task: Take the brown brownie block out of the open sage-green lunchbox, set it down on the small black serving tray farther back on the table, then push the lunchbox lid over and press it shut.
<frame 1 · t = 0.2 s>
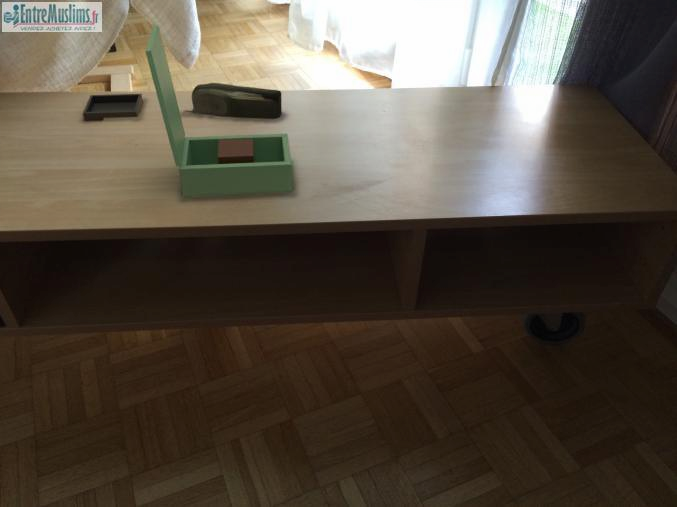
tray: (115, 112, 95), on the tv stand
dark green elongated piece: (233, 118, 95), on the tv stand
lunchbox: (238, 182, 81), on the tv stand
lid: (167, 97, 72), point 12 cm above the tv stand, hinge at 95.0°
brownie: (238, 177, 80), point 1 cm above the tv stand, touching lunchbox
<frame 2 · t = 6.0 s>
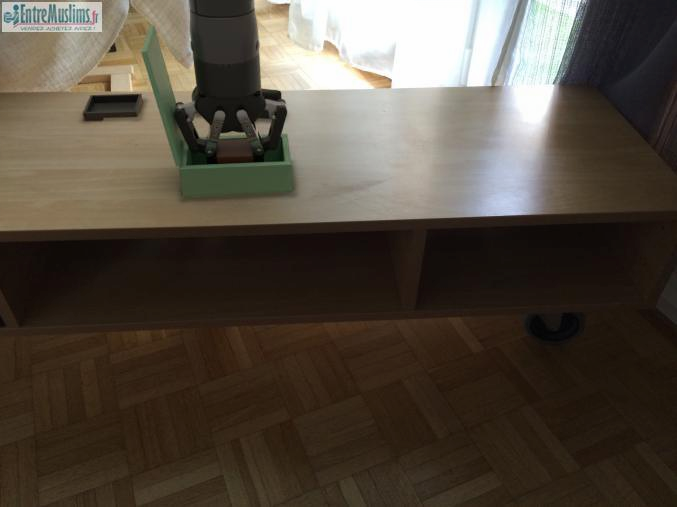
hand: (236, 176, 80), 1 cm above the tv stand, tool pointing down, fingers closed on lunchbox, 4 cm apart
lid: (165, 97, 72), point 12 cm above the tv stand, hinge at 96.8°
brownie: (237, 177, 80), point 1 cm above the tv stand, touching gripper, lunchbox
everything else where it was.
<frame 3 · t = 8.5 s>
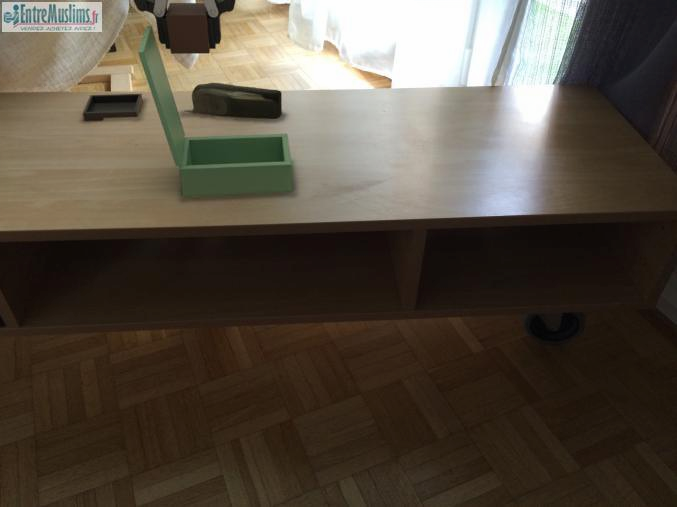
hand: (191, 46, 73), 17 cm above the tv stand, tool pointing down, fingers closed on brownie, 4 cm apart
lid: (164, 97, 72), point 12 cm above the tv stand, hinge at 98.2°, touching gripper
brownie: (191, 46, 73), point 17 cm above the tv stand, touching gripper
everything else where it was.
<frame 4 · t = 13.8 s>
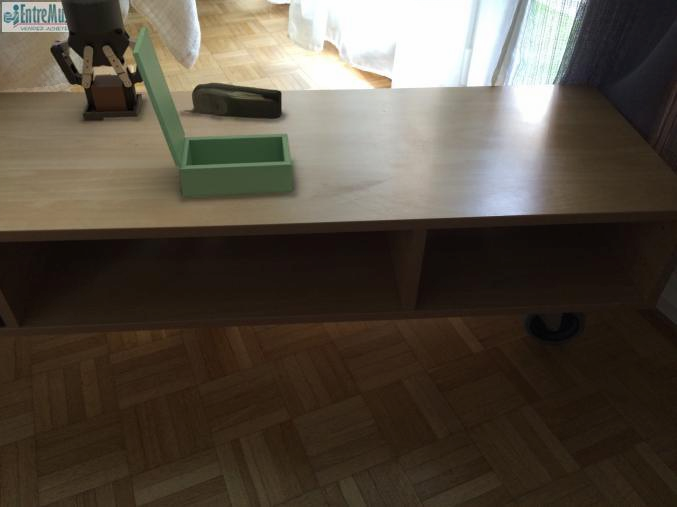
hand: (114, 107, 95), 1 cm above the tv stand, tool pointing down, fingers closed on brownie, 4 cm apart
lid: (161, 98, 72), point 12 cm above the tv stand, hinge at 100.6°
brownie: (114, 107, 95), point 1 cm above the tv stand, touching gripper
everything else where it was.
when the fingers open (1 cm above the tv stand, at t = 18.6 s): brownie stays where it is, resting on tray.
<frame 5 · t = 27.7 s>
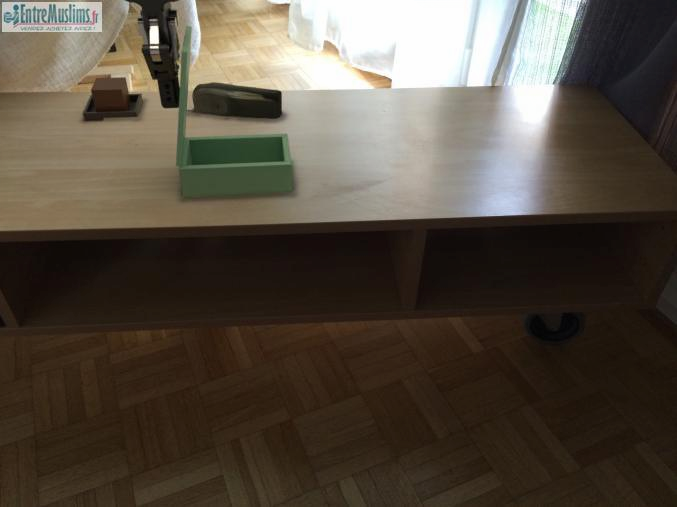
hand: (171, 105, 73), 11 cm above the tv stand, tool pointing down, fingers closed
lid: (183, 97, 72), point 12 cm above the tv stand, hinge at 79.7°, touching gripper
brownie: (114, 110, 95), resting on tray
everything else where it was.
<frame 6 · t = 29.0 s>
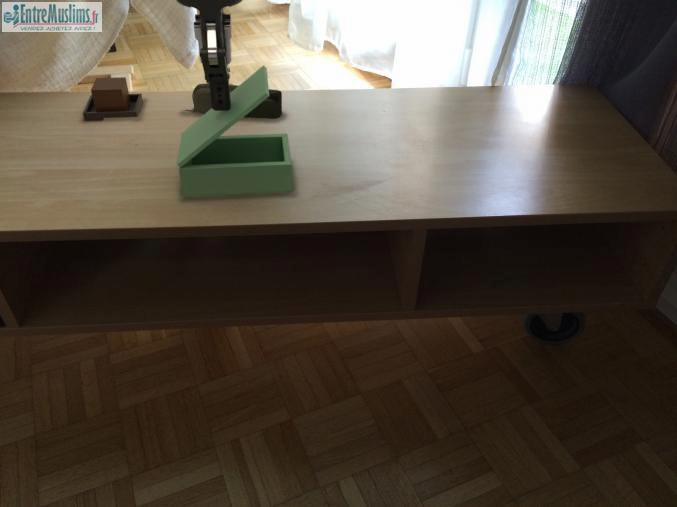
hand: (221, 108, 74), 11 cm above the tv stand, tool pointing down, fingers closed
lid: (222, 115, 74), point 10 cm above the tv stand, hinge at 38.6°, touching gripper
everything else where it was.
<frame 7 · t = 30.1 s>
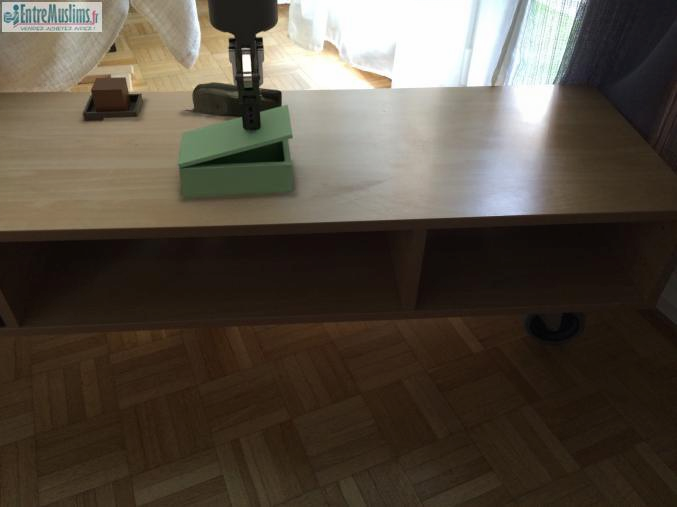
hand: (252, 127, 76), 8 cm above the tv stand, tool pointing down, fingers closed
lid: (235, 135, 76), point 7 cm above the tv stand, hinge at 14.2°
everything else where it was.
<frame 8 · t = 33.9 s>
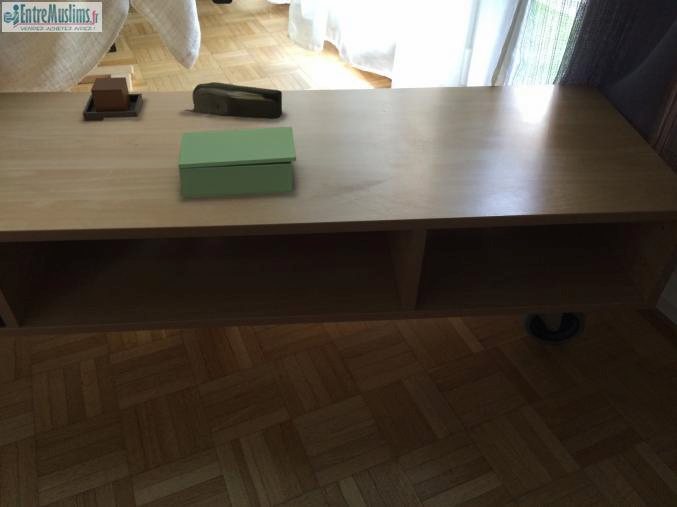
hand: (222, 1, 66), 23 cm above the tv stand, tool pointing down, fingers closed
lid: (237, 146, 77), point 5 cm above the tv stand, hinge at 1.4°
everything else where it was.
at the end: brownie inside the target area in the tray (0.0 cm from its centre), point 0.4 cm above the tray's base; lid at +1° (first picture: +95°) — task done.
